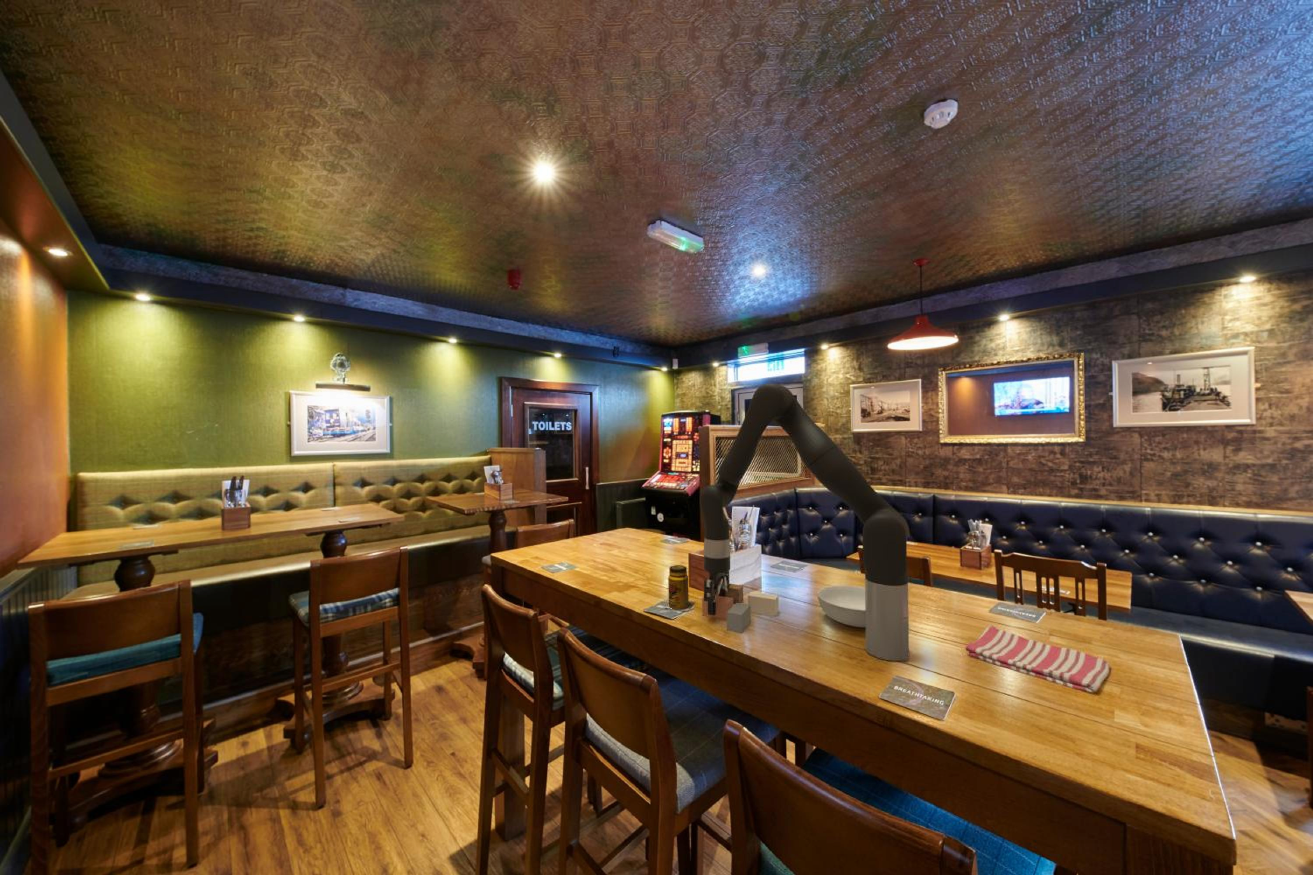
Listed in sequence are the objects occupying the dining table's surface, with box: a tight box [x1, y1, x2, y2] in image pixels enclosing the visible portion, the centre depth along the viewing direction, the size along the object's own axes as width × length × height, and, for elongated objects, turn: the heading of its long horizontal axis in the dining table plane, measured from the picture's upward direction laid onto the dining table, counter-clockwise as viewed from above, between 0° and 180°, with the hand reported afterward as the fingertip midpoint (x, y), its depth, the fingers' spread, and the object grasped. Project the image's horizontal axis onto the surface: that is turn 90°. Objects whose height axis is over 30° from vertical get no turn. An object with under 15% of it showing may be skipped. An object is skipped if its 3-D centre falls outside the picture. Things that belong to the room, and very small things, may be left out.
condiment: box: [666, 564, 696, 612], centre depth 146 cm, size 7×8×12 cm
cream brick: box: [747, 591, 780, 618], centre depth 140 cm, size 8×4×5 cm, turn 62°
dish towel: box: [965, 624, 1111, 694], centre depth 108 cm, size 17×23×4 cm
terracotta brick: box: [701, 595, 734, 621], centre depth 138 cm, size 8×4×5 cm, turn 62°
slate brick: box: [726, 602, 752, 634], centre depth 130 cm, size 8×4×5 cm, turn 152°
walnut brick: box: [717, 583, 744, 606], centre depth 149 cm, size 8×4×5 cm, turn 62°
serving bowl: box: [817, 584, 865, 629], centre depth 132 cm, size 21×21×7 cm
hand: (717, 609), depth 138 cm, fingers open, 8 cm apart
